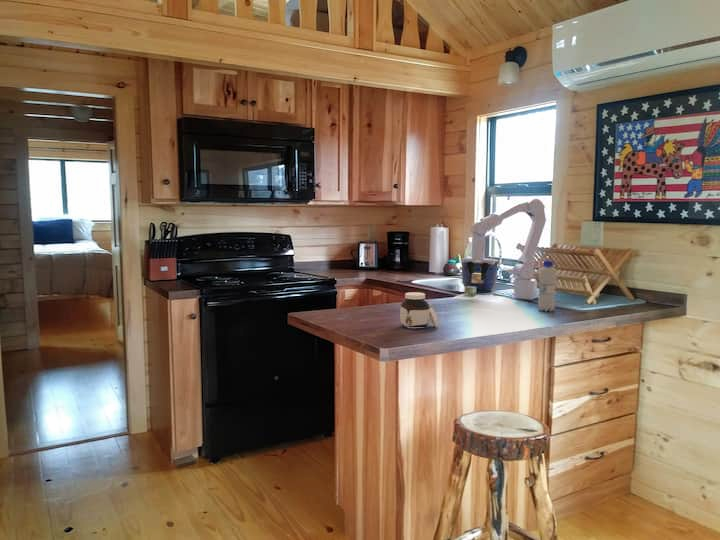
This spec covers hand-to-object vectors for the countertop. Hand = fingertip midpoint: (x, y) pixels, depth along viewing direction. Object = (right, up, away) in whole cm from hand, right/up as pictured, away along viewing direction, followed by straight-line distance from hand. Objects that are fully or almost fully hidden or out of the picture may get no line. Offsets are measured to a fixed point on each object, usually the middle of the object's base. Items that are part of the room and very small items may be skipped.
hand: (477, 279), depth 256 cm
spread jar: (-31, -16, -56) cm, 66 cm away
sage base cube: (-2, -7, +5) cm, 9 cm away
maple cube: (0, -1, 0) cm, 1 cm away
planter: (+5, -6, +21) cm, 22 cm away
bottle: (+22, -12, -26) cm, 36 cm away
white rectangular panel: (+1, -9, 0) cm, 9 cm away
